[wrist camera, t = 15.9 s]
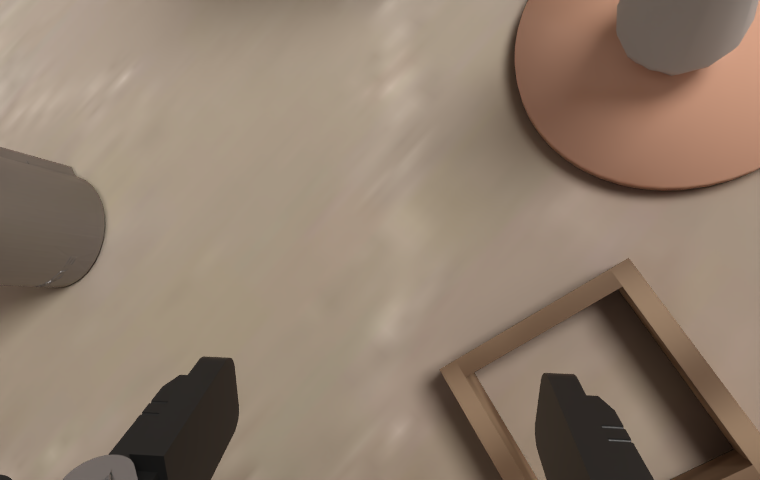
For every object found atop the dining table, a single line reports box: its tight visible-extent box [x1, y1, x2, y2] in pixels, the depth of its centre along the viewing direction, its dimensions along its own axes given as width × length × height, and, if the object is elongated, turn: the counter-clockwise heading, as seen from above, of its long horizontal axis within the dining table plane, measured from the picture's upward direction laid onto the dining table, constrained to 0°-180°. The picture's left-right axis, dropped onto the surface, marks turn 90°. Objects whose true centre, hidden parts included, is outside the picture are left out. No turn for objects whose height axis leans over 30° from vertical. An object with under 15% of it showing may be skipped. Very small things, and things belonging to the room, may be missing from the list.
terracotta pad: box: [515, 0, 760, 191], centre depth 27 cm, size 16×16×1 cm
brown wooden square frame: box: [440, 258, 760, 480], centre depth 25 cm, size 11×11×2 cm
